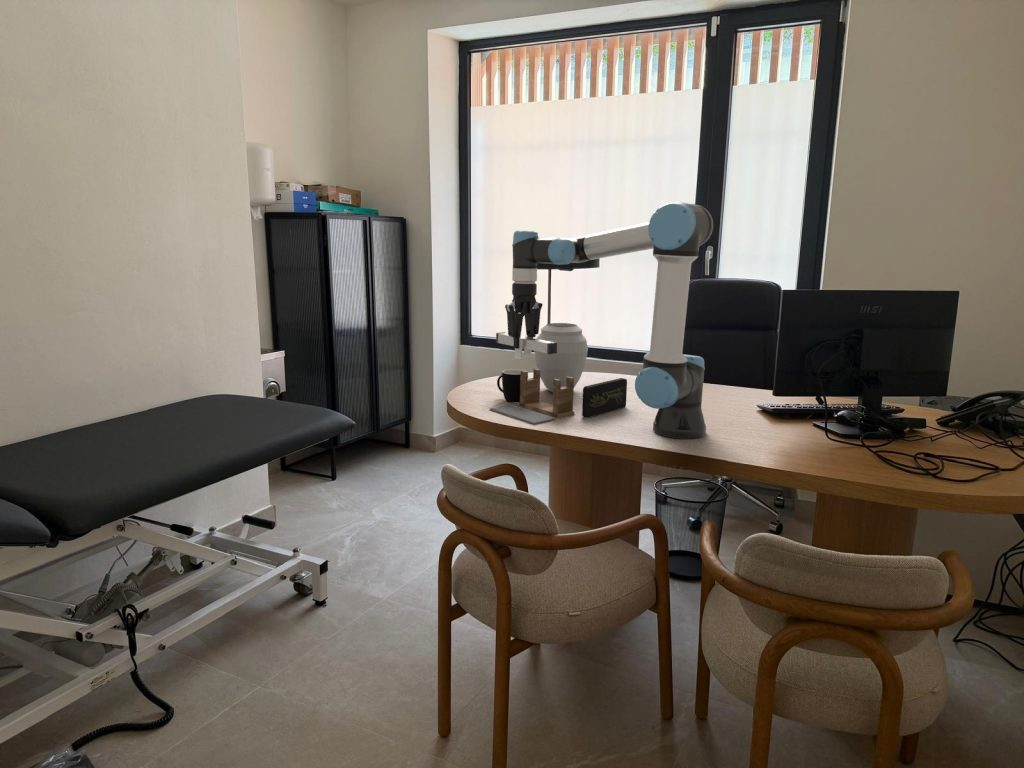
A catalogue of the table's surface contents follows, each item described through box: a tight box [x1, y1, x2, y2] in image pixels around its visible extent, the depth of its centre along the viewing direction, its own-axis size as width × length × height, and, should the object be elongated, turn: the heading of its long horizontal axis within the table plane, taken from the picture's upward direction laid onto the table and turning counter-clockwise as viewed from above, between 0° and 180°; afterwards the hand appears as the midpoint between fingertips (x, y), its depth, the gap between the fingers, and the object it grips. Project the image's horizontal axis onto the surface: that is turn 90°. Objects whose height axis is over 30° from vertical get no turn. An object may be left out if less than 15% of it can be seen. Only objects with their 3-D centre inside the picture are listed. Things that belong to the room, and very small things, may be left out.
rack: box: [518, 368, 575, 419], centre depth 225 cm, size 20×7×12 cm, turn 39°
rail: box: [495, 331, 557, 354], centre depth 214 cm, size 25×3×3 cm, turn 39°
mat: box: [489, 403, 557, 426], centre depth 220 cm, size 22×9×1 cm, turn 39°
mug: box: [496, 368, 529, 403], centre depth 239 cm, size 12×9×10 cm
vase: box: [534, 322, 589, 393], centre depth 252 cm, size 20×20×24 cm
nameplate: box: [581, 377, 628, 419], centre depth 224 cm, size 21×2×10 cm, turn 135°
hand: (523, 357), depth 216 cm, fingers closed on rail, 3 cm apart
